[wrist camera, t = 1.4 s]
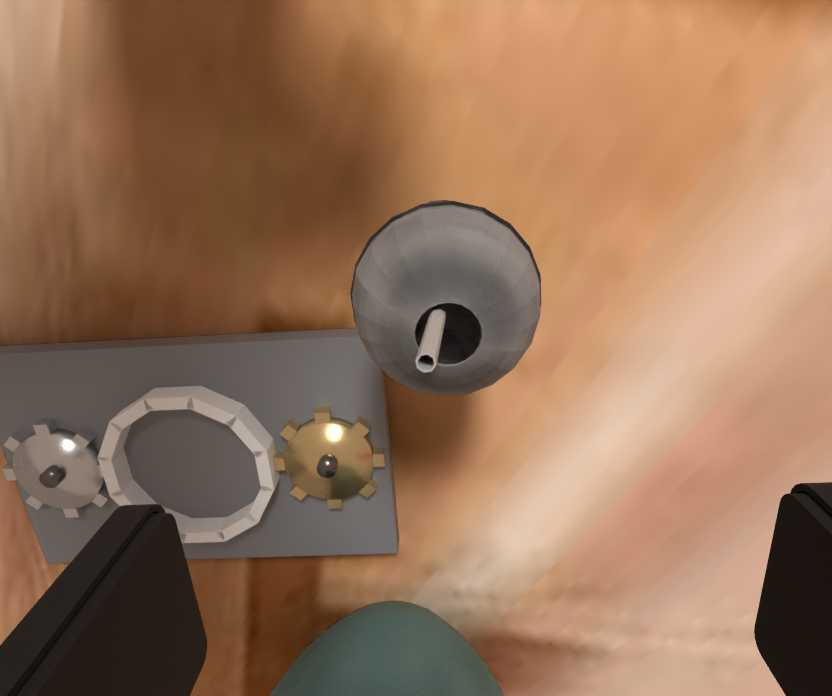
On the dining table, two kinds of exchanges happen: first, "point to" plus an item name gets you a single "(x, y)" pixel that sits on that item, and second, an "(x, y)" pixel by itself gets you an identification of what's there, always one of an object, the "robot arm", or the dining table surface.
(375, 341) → the beverage cup
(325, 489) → the gear
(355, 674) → the plant pot
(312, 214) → the dining table surface
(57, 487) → the gear
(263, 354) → the gear board
